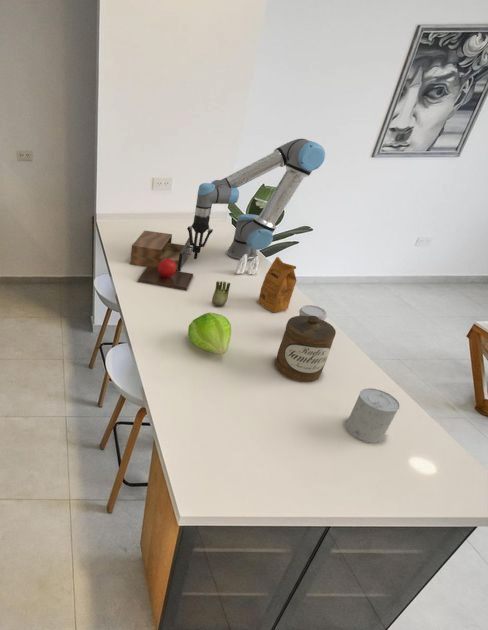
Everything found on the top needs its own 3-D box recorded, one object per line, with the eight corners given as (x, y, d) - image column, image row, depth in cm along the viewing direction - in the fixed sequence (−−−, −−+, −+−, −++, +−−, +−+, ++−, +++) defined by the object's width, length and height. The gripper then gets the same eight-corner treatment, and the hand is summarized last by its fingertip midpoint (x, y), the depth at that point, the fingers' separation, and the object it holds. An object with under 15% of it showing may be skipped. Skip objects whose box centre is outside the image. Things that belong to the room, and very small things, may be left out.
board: (192, 276, 216) (193, 273, 215) (186, 290, 202) (186, 287, 202) (147, 268, 224) (147, 266, 224) (138, 282, 211) (138, 279, 210)
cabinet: (170, 252, 243) (172, 234, 237) (159, 269, 224) (161, 249, 218) (143, 248, 249) (144, 230, 243) (130, 264, 230) (131, 245, 224)
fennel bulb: (226, 305, 190) (231, 281, 184) (221, 309, 187) (226, 285, 181) (214, 301, 193) (219, 277, 187) (209, 305, 190) (214, 281, 184)
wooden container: (280, 380, 145) (297, 326, 134) (270, 354, 158) (285, 304, 146) (326, 384, 143) (348, 330, 132) (312, 358, 156) (330, 307, 144)
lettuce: (198, 364, 153) (204, 333, 146) (180, 334, 171) (185, 305, 164) (238, 361, 155) (246, 331, 148) (217, 331, 172) (223, 302, 165)
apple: (176, 274, 214) (179, 255, 209) (172, 281, 207) (175, 262, 202) (159, 271, 218) (161, 252, 212) (154, 278, 211) (156, 259, 205)
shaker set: (235, 276, 215) (240, 256, 209) (232, 273, 219) (236, 253, 213) (258, 274, 216) (262, 254, 210) (253, 271, 220) (258, 251, 214)
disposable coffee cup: (316, 332, 171) (325, 306, 164) (320, 345, 163) (329, 318, 157) (290, 328, 173) (298, 302, 167) (293, 340, 166) (301, 314, 159)
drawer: (194, 255, 237) (197, 238, 232) (186, 272, 218) (188, 254, 213) (160, 249, 245) (162, 233, 239) (148, 266, 226) (150, 248, 220)
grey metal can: (338, 419, 129) (352, 389, 123) (368, 417, 130) (383, 387, 123) (359, 444, 121) (375, 412, 115) (391, 441, 122) (408, 410, 115)
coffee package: (272, 298, 195) (284, 254, 184) (290, 311, 185) (304, 265, 173) (253, 300, 193) (264, 256, 182) (271, 314, 183) (283, 268, 171)
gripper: (216, 214, 214) (208, 257, 226) (190, 211, 218) (184, 253, 231) (214, 219, 208) (206, 262, 220) (187, 215, 213) (181, 258, 225)
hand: (195, 258), depth 225 cm, fingers closed
